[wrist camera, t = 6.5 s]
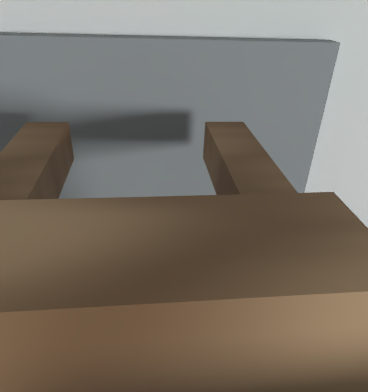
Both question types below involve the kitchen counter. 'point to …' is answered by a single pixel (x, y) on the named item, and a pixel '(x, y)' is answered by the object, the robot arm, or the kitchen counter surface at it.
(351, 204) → the kitchen counter surface
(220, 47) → the gray panel
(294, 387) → the stool
